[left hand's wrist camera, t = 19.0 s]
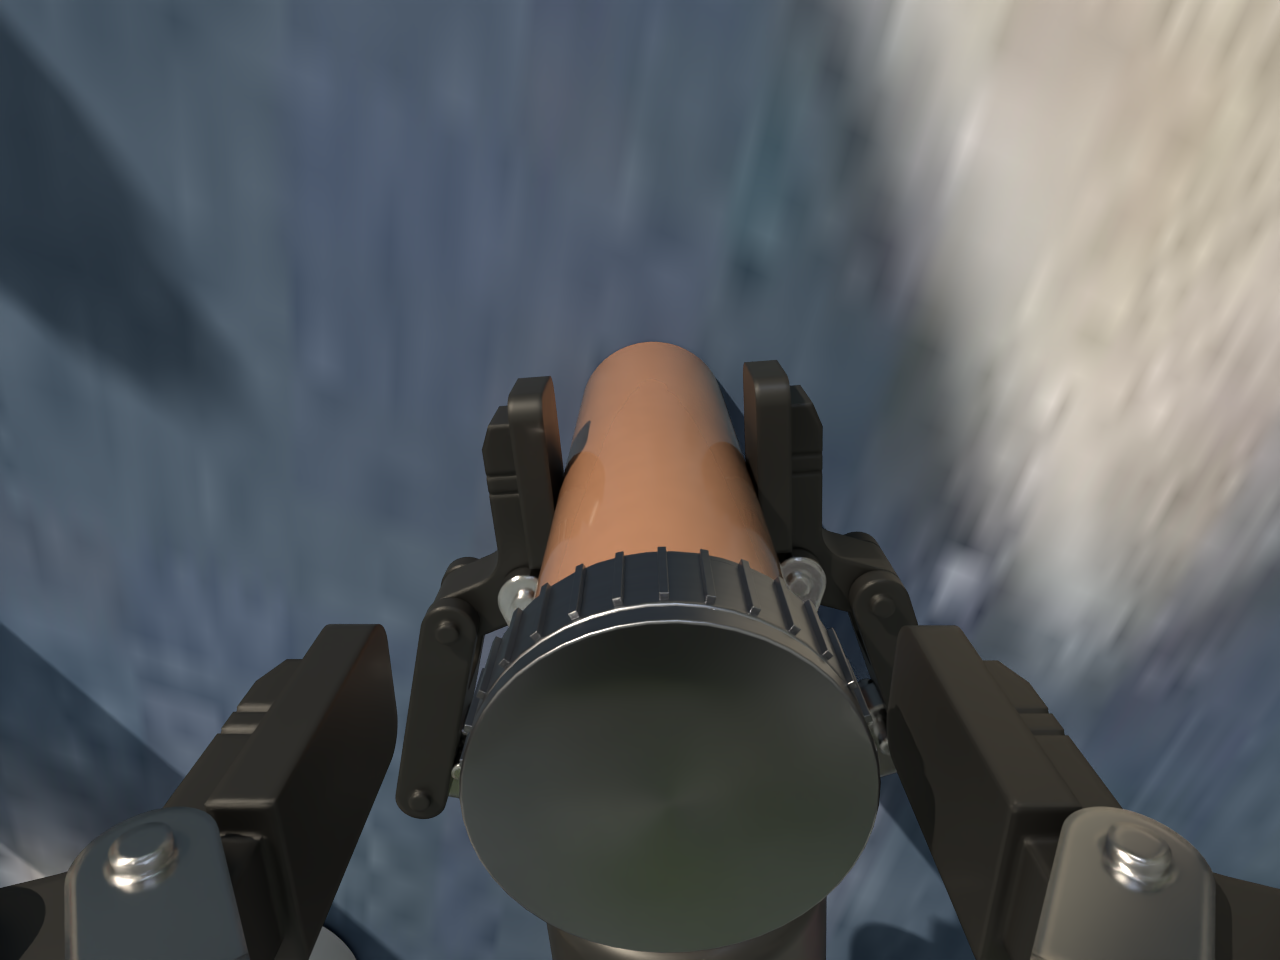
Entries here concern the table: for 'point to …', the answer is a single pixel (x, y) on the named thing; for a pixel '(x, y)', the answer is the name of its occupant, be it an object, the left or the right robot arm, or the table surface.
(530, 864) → the lid
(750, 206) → the table surface
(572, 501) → the jar
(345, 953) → the coffee cup
